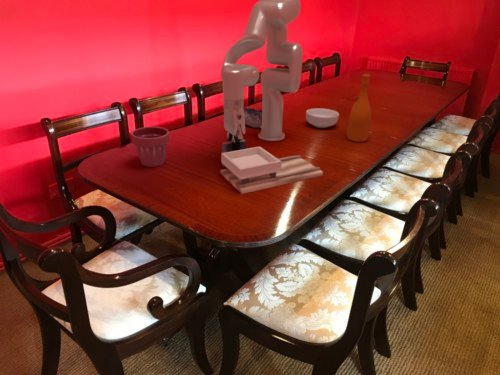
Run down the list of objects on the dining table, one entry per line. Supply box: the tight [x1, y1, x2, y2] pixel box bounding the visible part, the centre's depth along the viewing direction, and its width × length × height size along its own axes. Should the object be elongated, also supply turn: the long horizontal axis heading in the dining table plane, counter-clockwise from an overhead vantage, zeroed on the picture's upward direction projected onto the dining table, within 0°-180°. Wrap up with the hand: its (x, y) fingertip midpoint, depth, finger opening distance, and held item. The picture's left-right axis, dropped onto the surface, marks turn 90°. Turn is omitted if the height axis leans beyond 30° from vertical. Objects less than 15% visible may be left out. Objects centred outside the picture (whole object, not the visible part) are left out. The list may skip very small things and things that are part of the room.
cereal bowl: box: [305, 107, 340, 129], centre depth 197 cm, size 17×17×7 cm
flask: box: [221, 136, 247, 168], centre depth 150 cm, size 10×3×12 cm, turn 113°
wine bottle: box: [346, 73, 372, 143], centre depth 174 cm, size 10×10×30 cm
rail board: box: [220, 154, 324, 195], centre depth 144 cm, size 18×34×2 cm, turn 117°
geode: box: [243, 107, 262, 129], centre depth 196 cm, size 20×12×10 cm, turn 57°
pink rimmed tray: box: [220, 146, 282, 184], centre depth 138 cm, size 16×16×6 cm
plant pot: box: [130, 126, 170, 168], centre depth 151 cm, size 14×14×13 cm
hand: (234, 149), depth 150 cm, fingers closed on flask, 3 cm apart
